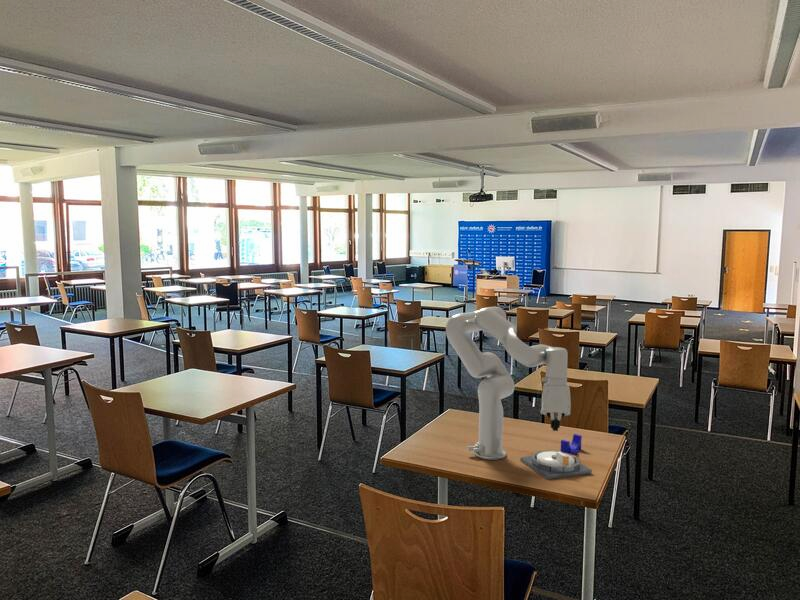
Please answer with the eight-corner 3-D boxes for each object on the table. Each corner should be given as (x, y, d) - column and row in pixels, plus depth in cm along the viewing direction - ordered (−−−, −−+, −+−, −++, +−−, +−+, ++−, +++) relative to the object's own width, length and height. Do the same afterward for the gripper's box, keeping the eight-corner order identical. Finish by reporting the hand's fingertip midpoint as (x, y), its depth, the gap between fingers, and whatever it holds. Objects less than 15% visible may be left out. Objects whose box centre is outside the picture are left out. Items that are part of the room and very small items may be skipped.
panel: (547, 479, 211) (547, 470, 211) (520, 460, 229) (520, 452, 229) (591, 473, 218) (592, 464, 217) (562, 455, 235) (562, 447, 235)
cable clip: (570, 457, 234) (571, 443, 234) (560, 454, 237) (561, 440, 237) (584, 450, 243) (585, 436, 242) (574, 447, 246) (574, 433, 245)
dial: (529, 457, 228) (530, 445, 227) (560, 454, 232) (561, 442, 232) (550, 471, 214) (550, 458, 214) (582, 467, 219) (582, 454, 218)
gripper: (536, 382, 212) (535, 432, 213) (579, 384, 210) (577, 433, 212) (534, 378, 219) (533, 426, 221) (575, 379, 218) (573, 427, 219)
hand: (555, 429), depth 216 cm, fingers closed
